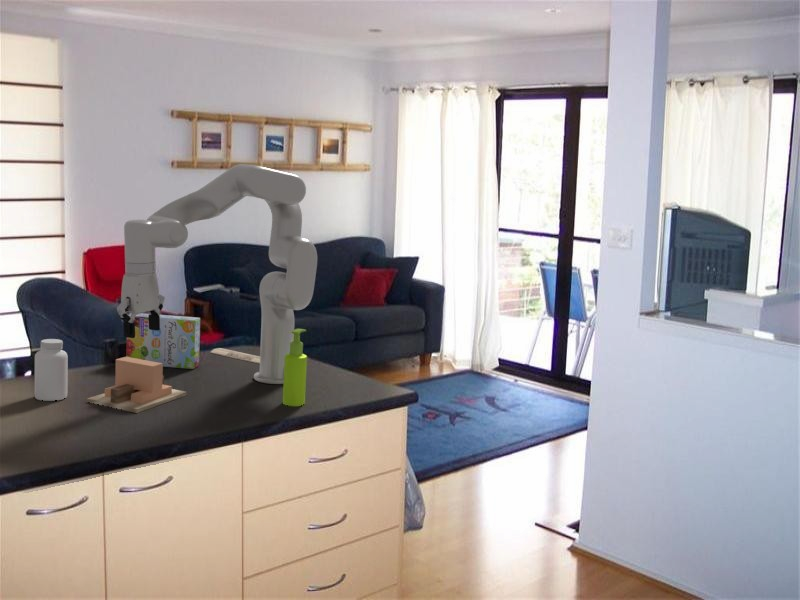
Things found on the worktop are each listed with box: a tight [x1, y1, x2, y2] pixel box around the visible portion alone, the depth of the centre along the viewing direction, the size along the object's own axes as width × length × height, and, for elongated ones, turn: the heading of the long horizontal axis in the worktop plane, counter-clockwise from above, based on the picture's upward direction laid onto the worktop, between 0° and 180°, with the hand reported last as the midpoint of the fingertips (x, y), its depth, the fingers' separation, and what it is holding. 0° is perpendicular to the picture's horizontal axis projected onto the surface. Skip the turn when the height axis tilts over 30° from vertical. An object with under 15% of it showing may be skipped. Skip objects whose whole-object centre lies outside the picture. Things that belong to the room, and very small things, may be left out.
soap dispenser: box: [282, 328, 308, 407], centre depth 245 cm, size 6×7×20 cm
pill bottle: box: [34, 338, 69, 402], centre depth 236 cm, size 8×8×15 cm
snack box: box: [125, 313, 201, 370], centre depth 277 cm, size 21×6×15 cm, turn 84°
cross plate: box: [104, 356, 173, 404], centre depth 240 cm, size 12×12×9 cm
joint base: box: [86, 375, 188, 414], centre depth 241 cm, size 16×20×4 cm
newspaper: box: [209, 347, 260, 365], centre depth 293 cm, size 24×7×2 cm, turn 59°
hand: (142, 333), depth 239 cm, fingers open, 9 cm apart
